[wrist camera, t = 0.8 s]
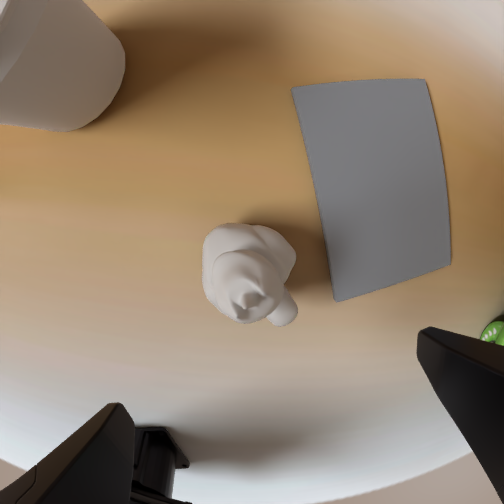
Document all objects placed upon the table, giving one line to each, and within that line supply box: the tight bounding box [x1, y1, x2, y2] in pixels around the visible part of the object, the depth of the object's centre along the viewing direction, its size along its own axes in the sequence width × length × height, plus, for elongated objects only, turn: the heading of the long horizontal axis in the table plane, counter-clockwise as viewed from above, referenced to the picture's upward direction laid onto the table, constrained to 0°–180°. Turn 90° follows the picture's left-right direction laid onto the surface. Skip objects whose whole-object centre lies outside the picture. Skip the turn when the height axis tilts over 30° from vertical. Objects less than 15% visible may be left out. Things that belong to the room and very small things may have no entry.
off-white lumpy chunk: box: [202, 223, 298, 327], centre depth 15 cm, size 5×7×8 cm
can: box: [0, 0, 125, 132], centre depth 9 cm, size 8×8×12 cm
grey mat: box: [291, 79, 451, 303], centre depth 18 cm, size 14×10×1 cm
